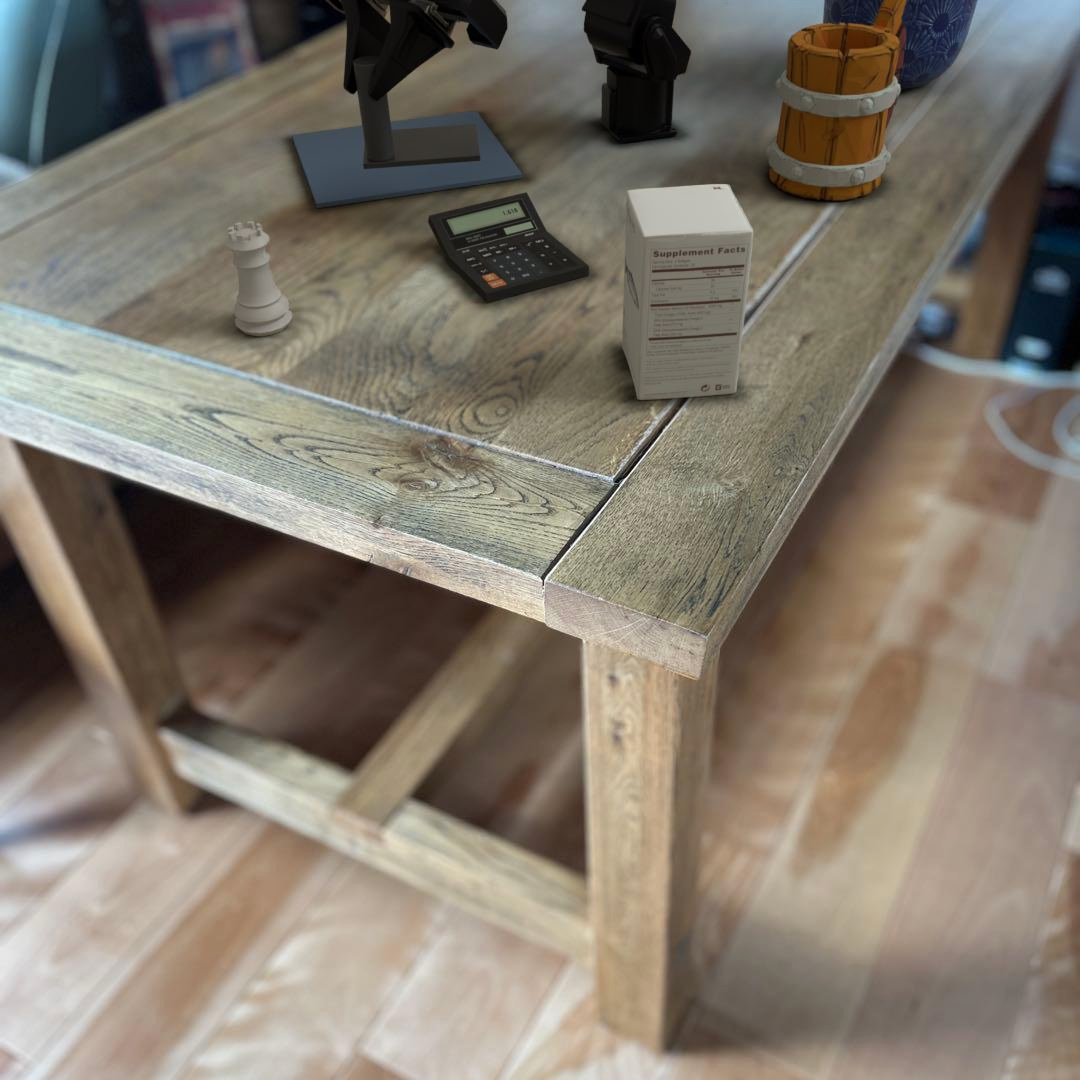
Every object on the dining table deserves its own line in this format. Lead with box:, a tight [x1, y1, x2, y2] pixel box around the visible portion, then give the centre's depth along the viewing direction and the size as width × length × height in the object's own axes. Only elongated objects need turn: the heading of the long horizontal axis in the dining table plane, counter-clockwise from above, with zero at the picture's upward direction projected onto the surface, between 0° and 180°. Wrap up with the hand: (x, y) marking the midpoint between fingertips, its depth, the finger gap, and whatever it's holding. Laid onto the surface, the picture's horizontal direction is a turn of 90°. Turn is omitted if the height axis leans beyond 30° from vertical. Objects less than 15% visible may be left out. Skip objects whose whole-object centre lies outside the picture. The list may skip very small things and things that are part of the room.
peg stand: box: [353, 56, 480, 169], centre depth 95 cm, size 10×7×8 cm
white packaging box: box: [621, 183, 755, 401], centre depth 77 cm, size 7×7×13 cm
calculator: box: [427, 191, 590, 304], centre depth 94 cm, size 9×12×3 cm
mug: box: [765, 0, 907, 202], centre depth 102 cm, size 11×16×15 cm, turn 137°
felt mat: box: [291, 110, 523, 209], centre depth 112 cm, size 20×18×1 cm
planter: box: [822, 0, 979, 90], centre depth 122 cm, size 17×17×15 cm
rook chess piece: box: [224, 220, 293, 337], centre depth 85 cm, size 4×4×8 cm
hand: (359, 94), depth 91 cm, fingers closed on peg stand, 2 cm apart
